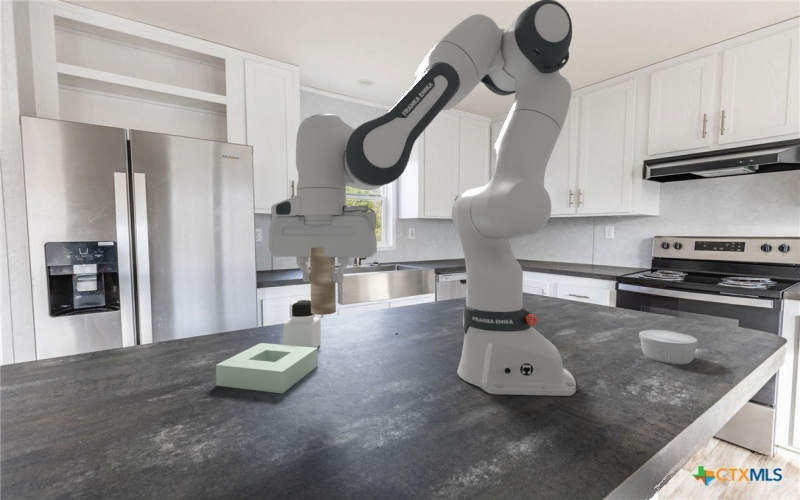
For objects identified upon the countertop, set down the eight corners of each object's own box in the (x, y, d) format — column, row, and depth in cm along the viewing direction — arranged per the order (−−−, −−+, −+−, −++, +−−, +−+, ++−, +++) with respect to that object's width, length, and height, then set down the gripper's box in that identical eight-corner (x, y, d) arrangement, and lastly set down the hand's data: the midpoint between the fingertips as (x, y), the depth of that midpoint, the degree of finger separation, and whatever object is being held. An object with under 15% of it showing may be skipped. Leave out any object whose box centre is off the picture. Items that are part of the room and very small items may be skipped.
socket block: (317, 365, 80) (317, 347, 79) (282, 393, 66) (282, 371, 66) (260, 360, 83) (260, 343, 83) (216, 385, 69) (216, 364, 69)
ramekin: (644, 362, 83) (645, 339, 83) (633, 348, 93) (634, 327, 93) (705, 369, 79) (706, 345, 78) (687, 353, 89) (688, 332, 89)
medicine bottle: (321, 344, 95) (320, 298, 94) (311, 353, 88) (311, 304, 87) (294, 343, 95) (293, 298, 95) (283, 352, 88) (282, 303, 88)
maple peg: (339, 310, 70) (338, 246, 69) (329, 315, 65) (328, 248, 65) (317, 308, 71) (316, 246, 70) (306, 314, 66) (305, 247, 66)
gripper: (381, 206, 68) (381, 280, 68) (281, 208, 72) (283, 278, 73) (370, 204, 61) (371, 285, 62) (262, 206, 66) (264, 282, 67)
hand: (323, 281), depth 68 cm, fingers closed on maple peg, 4 cm apart
